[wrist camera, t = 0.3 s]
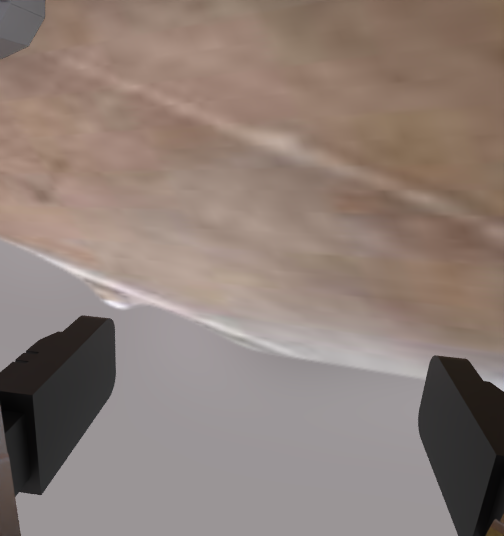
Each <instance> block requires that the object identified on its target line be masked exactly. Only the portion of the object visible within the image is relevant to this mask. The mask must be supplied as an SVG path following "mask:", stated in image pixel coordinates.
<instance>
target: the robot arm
mask: <svg viewBox="0 0 504 536" xmlns="http://www.w3.org/2000/svg"><path fill="white" fill-rule="evenodd" d="M115 376H116V366H115V327H114V322H113V320H112V319H110V318H101V317H91V316H80V317H79V318H78V319H77V320H75V321H74V322H73V323H72V324H71V325H70V326H69V327H68V328H66V329H65V330H64V331H63V332H56V333H54V334H52V335H50V336H47V337H45V338H43V339H40V340H39V341H37V342H36V343H35V344H34V345H33V346H31V347H30V348H29V349H28V350H27V351H26V353H23V354H22V355H21V356H19V357H18V358H17V359H16V361H15V362H12V363H11V364H10V365H9V366H8V367H6V368H5V369H4V370H2V371H1V372H0V536H21V534H20V527H19V520H18V514H17V507H16V501H15V497H16V495H17V494H18V493H19V492H23V493H30V494H37V495H42V493H43V492H44V490H45V489H46V488H47V486H48V485H49V483H50V482H51V480H52V479H53V478H54V476H55V475H56V473H57V472H58V470H59V469H60V468H61V466H62V465H63V463H64V462H65V460H66V459H67V457H68V456H69V455H70V453H71V452H72V450H73V449H74V447H75V446H76V444H77V443H78V442H79V440H80V439H81V437H82V436H83V435H84V433H85V432H86V430H87V429H88V427H89V426H90V424H91V423H92V422H93V420H94V419H95V417H96V416H97V414H98V413H99V412H100V410H101V409H102V407H103V406H104V404H105V403H106V401H107V400H108V399H109V397H110V395H111V393H112V390H113V387H114V383H115ZM418 426H419V433H420V437H421V440H422V443H423V445H424V448H425V451H426V453H427V456H428V458H429V461H430V464H431V466H432V469H433V471H434V474H435V476H436V479H437V482H438V484H439V486H440V489H441V492H442V495H443V497H444V500H445V502H446V505H447V508H448V510H449V513H450V515H451V518H452V520H453V523H454V526H455V528H456V531H457V534H458V536H504V392H503V391H502V390H500V389H499V388H497V387H496V386H495V385H493V384H492V383H491V382H486V381H483V380H482V378H481V377H480V376H479V374H478V373H477V371H476V370H475V369H474V367H473V366H472V364H471V363H470V362H469V361H468V360H467V359H462V358H453V357H444V356H433V357H432V359H431V361H430V364H429V368H428V372H427V377H426V382H425V386H424V391H423V395H422V400H421V405H420V409H419V417H418Z"/></svg>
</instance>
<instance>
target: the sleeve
mask: <svg viewBox="0 0 504 536" xmlns="http://www.w3.org/2000/svg"><path fill="white" fill-rule="evenodd" d="M44 18H45V0H0V59H3V58H5V57H7V56H9V55H11V54H13V53H15V52H18V51H20V50H22V49H24V48H26V47H28V46H29V45H30V43H31V41H32V39H33V38H34V36H35V34H36V32H37V31H38V29H39V27H40V25H41V24H42V22H43V20H44Z"/></svg>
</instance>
